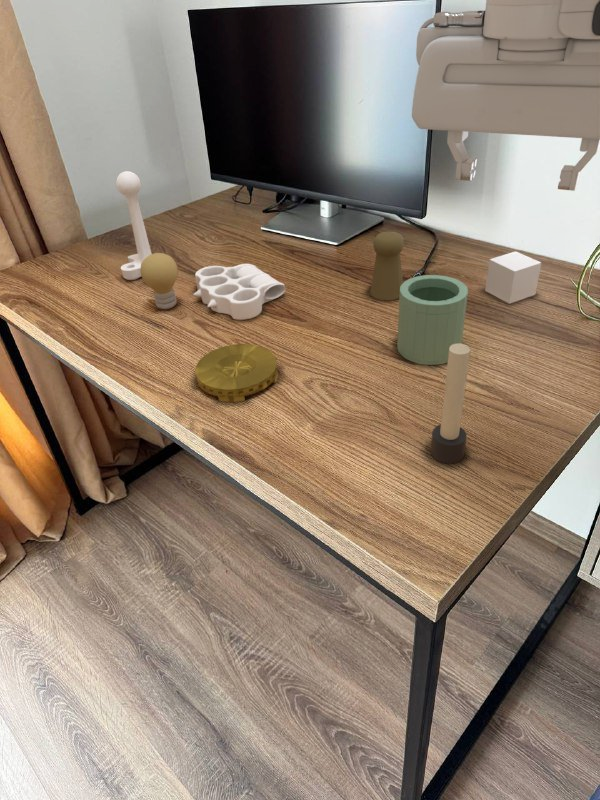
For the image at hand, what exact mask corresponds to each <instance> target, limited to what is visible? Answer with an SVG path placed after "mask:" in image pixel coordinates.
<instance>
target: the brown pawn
mask: <svg viewBox="0 0 600 800" xmlns="http://www.w3.org/2000/svg"><path fill="white" fill-rule="evenodd" d="M372 245H373V250H374V252H375V260H374V266H373V273H372V279H371V285H370V291H369V292H370V295H371V297H372V298H374V299H377V300H380V301H394V300H397V299H399V297H400V286H401V285H402V284H403V283H404V281H403V270H402V259H401V257H402V256H401V253H402V251H403V249H404V246H405V240H404V237H403V236H402V234H401V233H398V232H396V231H382V232H379V233H378V234H376V235H375V237H374V239H373V244H372Z"/></svg>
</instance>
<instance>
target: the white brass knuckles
mask: <svg viewBox="0 0 600 800" xmlns="http://www.w3.org/2000/svg"><path fill="white" fill-rule="evenodd" d="M194 277H195V282H196V288H197V290H196V291H195V292H194V293H193V294H192V296H194V297H199V298H201V301H202V304H205V305H207V306H206V307H207V308H210V309H211V311H213V312H216V313H218V314H225V315H228V316H231V318H232V319H233V320H237V321H238V320H239V321H241V320H243V321H244V320H245V321H246V320H250V319H251V320H252V319H254V318H256V317H258V316H259V315H260V314H261V313H262V312H263V305H264V304H266V303H268V302H272V301H273V300H275V299H277V298H279V297H281V296H282V295H284V294H285V293H286V288H287V287H286V286H285V283H283V282H280V281H278V280H276V279H275V278H273V277H272V276H271V275H270V274H269V273H266V272H265V271H263V270H261V269H259V268H258V267H257V266H256V265H255V264H251V263H241V264H238V265H235V266H222V265H209V266H205V267H202V268H200V269H198V270H196V272H195V275H194Z"/></svg>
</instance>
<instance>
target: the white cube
mask: <svg viewBox="0 0 600 800" xmlns="http://www.w3.org/2000/svg"><path fill="white" fill-rule="evenodd" d="M541 267H542V262H541V261H539V260H537V259H534V258H533V257H530V256H528V255H525V254H524V253H521V252H519V251H512V252H508V253H505V254H502V255H499V256H496V257H492V258H490V259H489V260H488V267H487V273H486V281H485V289H484V292H486V293H489V294H490V295H492V296H494V297H495V298H497V299H499V300H501V301H503V302H505V303H507V304H509V305H510V304H513V303H516V302H519V301H521V300H524V299H528V298H530V297H533V296H535V295H536V293H537V289H538V288H537V287H538V284H539V283H538V282H539V278H540V272H541Z"/></svg>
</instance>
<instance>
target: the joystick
mask: <svg viewBox="0 0 600 800" xmlns="http://www.w3.org/2000/svg"><path fill="white" fill-rule="evenodd" d="M115 181H116V182H115V185H116V188H117V190H118V192H119V193H120V194H122V195H123V196H124V197H125V199H126V203H127V208H128V212H129V217H130V222H131V227H132V232H133V237H134V241H135V248H136V252H137V253H135V254H130V255H127V261H128V262H127V263H123V264H122V265H121V266H120V271H121V275H122V278H124V279H125V280H127V281H135V280H138V279H140V278H142V276H141V271H140V268H141V263H142V261H143V260H144V259H145V258H146V257H147V256H149V255H151V254H153V253H152V251H151V250H152V249H151V245H150V242H149V238H148V234H147V231H146V227H145V222H144V218H143V215H142V211H141V207H140V202H139V199H138V195H139V193H140V191H141V188H142V183H141V179H140V178H139V176H138V175H137V173H135V172H132V171H131V170H126V171H122V172H120V173H119V174H118V176H117V177H116V180H115Z"/></svg>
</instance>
